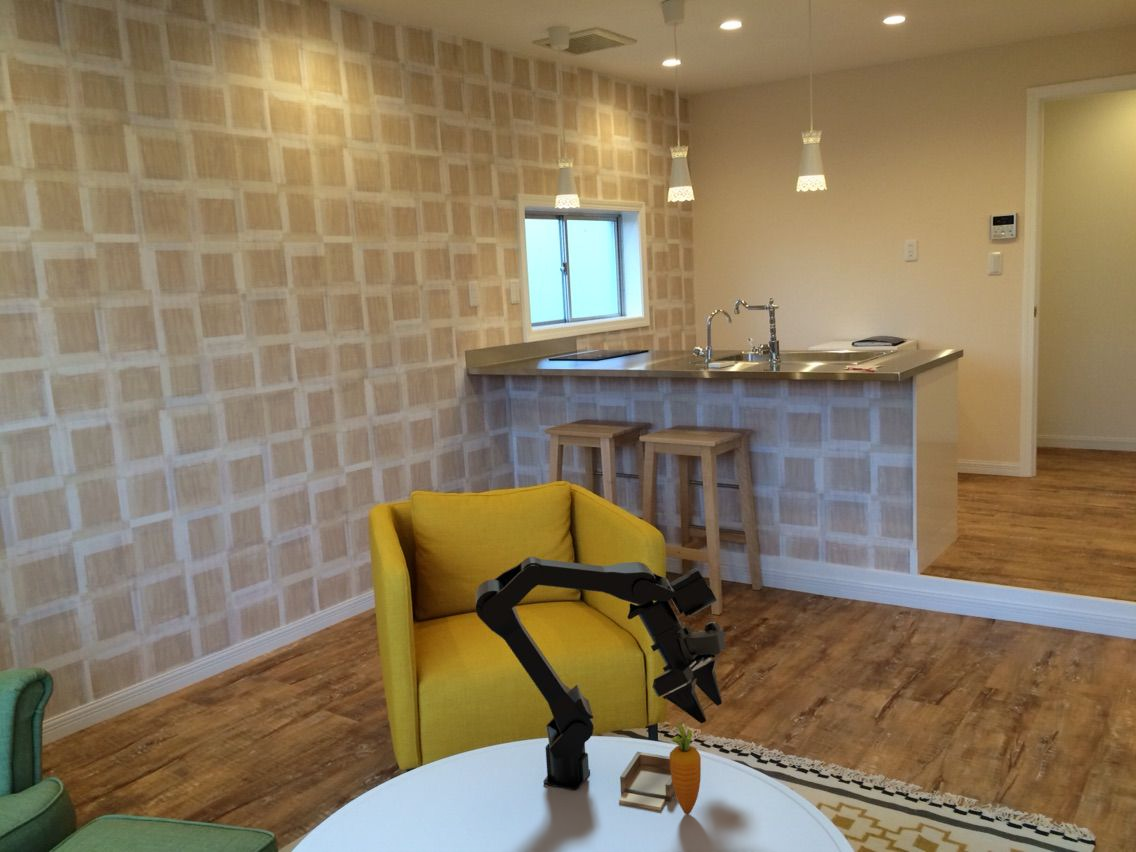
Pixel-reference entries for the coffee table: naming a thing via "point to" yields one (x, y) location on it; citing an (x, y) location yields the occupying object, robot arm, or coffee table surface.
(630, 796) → the wooden tray
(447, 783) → the coffee table surface
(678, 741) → the carrot
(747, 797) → the coffee table surface
